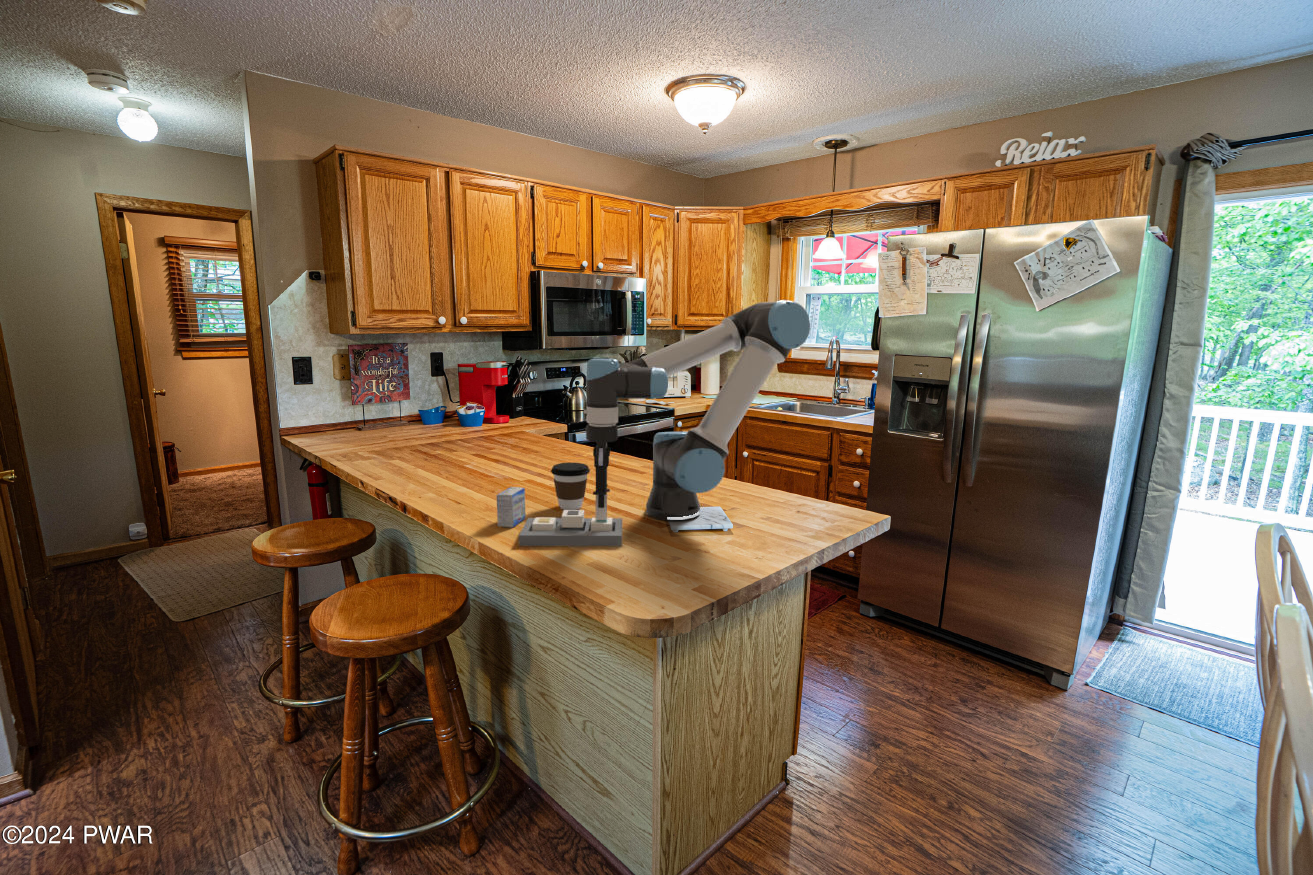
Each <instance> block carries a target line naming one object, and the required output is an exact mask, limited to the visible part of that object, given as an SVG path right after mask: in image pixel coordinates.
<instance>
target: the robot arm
mask: <svg viewBox="0 0 1313 875" xmlns="http://www.w3.org/2000/svg"><path fill="white" fill-rule="evenodd" d="M810 331H811V322H810V316H809V314H808V312H807V310H806V309H805V307H803V306H802V304H800V303H798V302H796V301H794V300H793V301H792V300H786V299H782V300H778V301H764V302H761V301H760V302H757V303H755V304H752V305H750V306H747V307H745V308H744V309H741V310H739V311H738V312H735V313H733V314H731V315H729V316H726V317H725V318H724V317H723V319H722V320H721V323H720V324H717V325H715V326H713V327H710V328H708V329H706V330H704V331H701V332H698V333H696V334H694V335H691V336H689V337H687V338H684V339H682V340H679V341H677V342H675V343H671V344H670V345H668V346H665V347H663V348H661V349H657V350H655V351H653V352H651V353H648V354H645V355H643V356H641V357H639V358H635V359H634V360H631V361H629V362H622V363H619V360H618V359H616V358H591V359H589V360H588V361H587V364H586V372H585V373H586V375H585V382H586V383H585V386H586V388H585V389H586V391H585V393H586V394H585V395H586V396H585V397H586V403H585V404H586V409H584V410H583V414H585V415H586V416H585V417H586V418H585V419H586V423H587V425H586V426H585V438H586V440H587V441H589V442H591V443H596V446H593V450H592V455H593V458H594V459H593V461H594V462H593V465H594V467H595V490H594V491H593V492H592V495H595V517H596V520H607V518H608V493H610V490H611V489H610V488H608V468H609V464H610V455H611V446H608V443H614V442H616V441H617V440H618V439H619V438H618V437H619V436H618V435H619V434H618V432H619V430H618V429H619V428H618V427H619V426H618V425H617V424H618V423H619V399H620V400H626V399H627V400H628V399H629V400H631V399H632V400H633V399H634V400H635V399H636V400H639V399H640V400H642V399H643V400H645V399H647V400H654V399H663V398H664V397H665V396H666V394H667V392H668V389H669V388H668V387H669V377H671V376H674V375H676V374H678V373H680V372H683V371H685V370H687V369H690V368H693V367H694V366H697V365H699V364H701V363H704V362H706V361H708V360H710V359H713V358H715V357H717V356H720V355H723V354H725V353H727V352H730V351H734V352H738V351H741V350H743V349H744V350H743V352H742V353H741V355H740V357H739V359H738V360H737V362H736V363H735V365H734V367H733V369H732V370H731V372H730V374H729V375H728V376H727V379H726V380H725V381H724V384H723V385H722V387H721V388H720V389H719V392H717V395H716V396H715V398H714V400H713V401H712V403H711V405H710V407H709V408H708V410H707V411H706V413H705V415H704V416H703V418H702V419H701V421H700V423H699V425H698V426H696V427H693V428H690V429H688V431H664V432H663V431H662V432H657V433H656V434H655V435H654V436H653V443H652V448H653V451H652V454H653V455H652V458H653V459H652V486H651V490H650V493H649V496H648V498H647V502H646V503H645V504H646V506H645V513H646V515H647V516H649V517H651V518H653V519H657V520H662V521H668V520H667V517H683V516H689V515H693V514H695V513H697V512H698V511H699V510H700V511H701V504H700V501H699V498H698V494H702V493H707V492H710V491H711V490H713V489H715V488H716V487H717V486H718V485H719V484H720V483H721V482H722V480H723V478H724V476H725V475H724V474H725V470H726V469H725V468H726V467H725V460H726V458H727V457H728V455H729V448H728V443H729V441H730V440H731V438H732V437H733V435H734V433H735V432H736V430H737V428H738V426H739V425H740V423H741V421H742V420H743V419H744V416H746V414H747V412H748V410H749V409H750V407H751V405H752V404H753V402H754V400H755V399H756V397H757V395H758V393H759V392H760V390H761V388H762V387H763V386H764V384H765V382H766V380H767V379H768V378H769V376H770V374H771V372H772V370H773V369H774V367H775V366H776V364H781V363H784V362H785V361H786V360H787V357H788V356H789V354H790V352H791V351H792V350H794V349H798V347H801V346H802V345H803V344H804V343H805V342H806V340H808V338H809V335H810Z"/></svg>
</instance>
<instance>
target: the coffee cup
mask: <svg viewBox="0 0 1313 875" xmlns="http://www.w3.org/2000/svg"><path fill="white" fill-rule="evenodd" d="M590 471H591V470H590V468H589V466H588V465H587V464H585V463H581V462H560V463H557V464H554V465H553V466H552V467H551V469H550V473H551V474H552V475H553V482H554V490H555V495H556V498H557V503H558V506H559V508H560V509H561V510H563V511H564V510H581V508H582V507H583V505H584V498H585V495H586V494H585V493H586V490H587V482H588V474H590Z"/></svg>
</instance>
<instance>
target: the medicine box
mask: <svg viewBox="0 0 1313 875" xmlns="http://www.w3.org/2000/svg"><path fill="white" fill-rule="evenodd" d="M525 490H526V489H525V487H517V486H512V487H508V488H507V489H505V490H503V491H501V492H499V493H498V494H496V516H497V518H496V519H497V527H501V528H502V527H503V528H511V529H513V528H515V527H516V526H518V525H519V524H521V522H523V521H524V520H525V519H526V491H525Z"/></svg>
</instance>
